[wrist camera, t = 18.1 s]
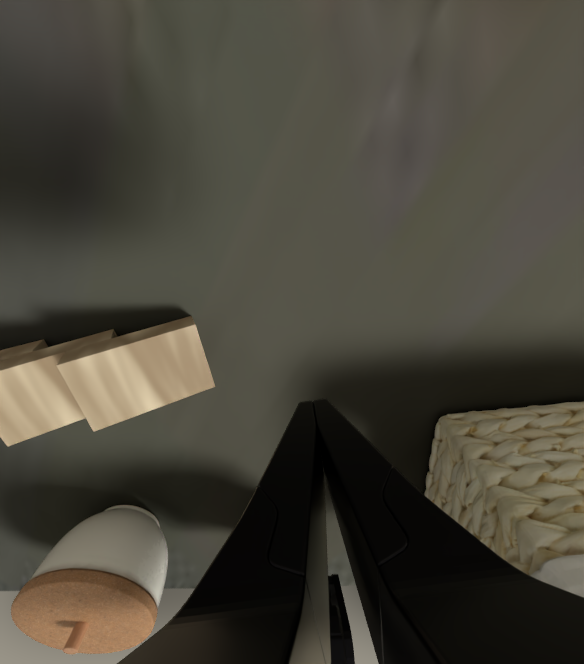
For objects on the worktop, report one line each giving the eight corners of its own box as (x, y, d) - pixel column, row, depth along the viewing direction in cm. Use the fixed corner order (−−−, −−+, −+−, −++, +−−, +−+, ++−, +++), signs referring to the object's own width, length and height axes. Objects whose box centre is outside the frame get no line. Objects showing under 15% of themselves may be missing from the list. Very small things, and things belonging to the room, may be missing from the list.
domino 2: (195, 324, 20) (56, 365, 17) (215, 386, 22) (93, 431, 19) (191, 315, 21) (65, 351, 19) (209, 373, 23) (98, 413, 21)
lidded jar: (137, 473, 28) (71, 595, 19) (202, 535, 31) (173, 660, 23) (50, 512, 29) (-46, 640, 21) (123, 567, 33) (68, 694, 25)
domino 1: (110, 338, 20) (-41, 382, 17) (138, 398, 22) (7, 446, 19) (113, 328, 22) (-22, 367, 19) (139, 385, 24) (20, 426, 21)
